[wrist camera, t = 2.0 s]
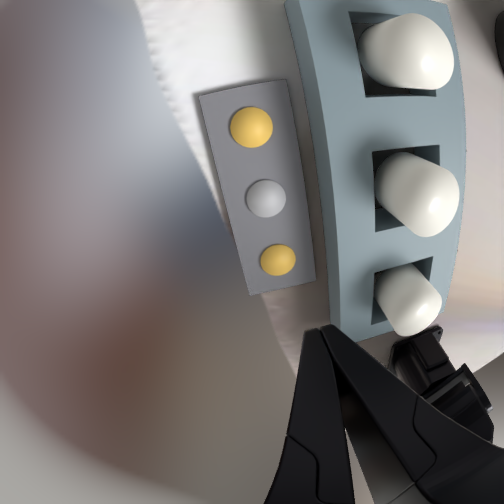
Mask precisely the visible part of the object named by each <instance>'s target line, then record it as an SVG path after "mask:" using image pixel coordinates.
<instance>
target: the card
mask: <svg viewBox="0 0 504 504" xmlns="http://www.w3.org/2000/svg"><path fill="white" fill-rule="evenodd" d="M199 100H200V104H201V108H202V112H203V116H204V121H205V125H206V129H207V133H208V137H209V141H210V145H211V149H212V153H213V157H214V161H215V165H216V169H217V173H218V177H219V181H220V184H221V188H222V192H223V196H224V200H225V204H226V208H227V212H228V216H229V219H230V223H231V227H232V231H233V235H234V239H235V242H236V246H237V250H238V254H239V258H240V261H241V265H242V269H243V273H244V276H245V280H246V284H247V288H248V292H249V295H250V296H251V295H256V294H260V293H265V292H269V291H274V290H278V289H283V288H287V287H292V286H296V285H300V284H305V283H309V282H313V281H316V273H315V264H314V254H313V245H312V237H311V229H310V221H309V213H308V205H307V198H306V191H305V184H304V177H303V171H302V164H301V158H300V152H299V146H298V140H297V134H296V128H295V123H294V117H293V112H292V107H291V101H290V96H289V91H288V86H287V81H286V79H282V80H275V81H269V82H263V83H257V84H252V85H246V86H241V87H236V88H232V89H227V90H222V91H218V92H214V93H210V94H206V95H202V96H199Z"/></svg>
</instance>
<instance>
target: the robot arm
mask: <svg viewBox="0 0 504 504" xmlns="http://www.w3.org/2000/svg"><path fill="white" fill-rule="evenodd" d="M442 332H443V329H442V328H441V327H438V328H435V329H433V330H430V331H428V332H425V333H423V334H420V335H417V336H415V337H412V338H409V339H407V340H404V341H401V342H398V343H396V344H394V345H393V347H392V352H391V356H390V361H389V365H388V369H387V368H386V367H384V366H383V365H382V364H381V363H380V362H378V361H377V360H376V359H375V358H374V357H372V356H371V355H370V354H369V353H367V352H366V351H365V350H364V349H363V348H361V347H360V346H359V345H358V344H357V343H355V342H354V341H353V340H352V339H351V338H349V337H348V336H347V335H346V334H345V333H343V332H342V331H341V330H340V329H339V328H337V327H336V326H335V325H333V324H330V325H326V326H322V327H320V328H319V329H318V328H314V329H310V330H306V331H305V332H304V335H303V342H302V349H301V355H300V362H299V368H298V374H297V380H296V385H295V392H294V397H293V402H292V408H291V413H290V418H289V423H288V428H287V433H286V434H287V436H286V437H285V442H284V446H283V451H282V454H281V458H280V462H279V466H278V469H277V472H276V474H275V477H274V480H273V482H272V485H271V488H270V490H269V492H268V495H267V497H266V499H265V502H264V504H355V498H354V490H353V481H352V474H351V467H350V459H349V452H348V446H347V439H346V433H345V429H346V431H347V434H348V436H349V439H350V441H351V444H352V446H353V449H354V452H355V454H356V456H357V459H358V462H359V464H360V467H361V469H362V472H363V474H364V477H365V480H366V482H367V485H368V487H369V490H370V492H371V495H372V498H373V501H374V503H375V504H504V448H501V447H498V446H496V445H493V444H492V443H493V432H494V425H493V423H492V421H491V419H490V417H489V415H488V413H489V412H491V411H492V410H493V407H492V405H491V403H490V401H489V399H488V397H487V396H486V394H485V392H484V391H483V389H482V387H481V386H480V384H479V383H478V381H477V380H476V378H475V377H474V375H473V374H472V372H471V371H470V369H469V368H468V367H467V365H466V364H465V363H464V364H463V365H461V367H460V368H459V369H458V370H457V371H456V370H455V368H454V367H453V365H452V363H451V362H450V360H449V357H448V356H447V354H446V353H445V351H444V349H443V348H442V346H441V345H440V343H439V341H440V339H441V336H442ZM468 383H470V384H469V385H467V386H466V387H465V385H466V384H468Z"/></svg>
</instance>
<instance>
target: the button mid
mask: <svg viewBox="0 0 504 504" xmlns="http://www.w3.org/2000/svg"><path fill="white" fill-rule="evenodd" d="M374 190H375V195H376V198H377V200H378V202H379V203H380V204H381V206H382V207H384V208H385V209H386V210H387V211H388V212H390V213H391V214H392V215H393V216H394V217H396V218H397V219H398V220H399V221H400V222H402V223H403V224H404V225H405V226H406V227H407V228H409V229H410V230H411V231H412V232H413V233H414V234H416V235H418V236H421V237H431V236H434V235H436V234H438V233H440V232H441V231H443V230H444V229H445V228H446V227H447V226H448V225H449V223H450V222H451V221H452V219H453V217H454V215H455V213H456V211H457V208H458V204H459V186H458V183H457V180H456V178H455V177H454V175H453V174H452V173H451V172H450V171H449V170H447V169H445V168H443V167H441V166H438V165H436V164H434V163H432V162H430V161H427V160H425V159H423V158H420V157H418V156H416V155H413V154H411V153H408V152H397V153H394V154H392V155H390V156H389V157H387V158H386V159H385V160H384V161H383V162H382V164H381V165H380V167H379V168H378V170H377V173H376V176H375V181H374Z"/></svg>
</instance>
